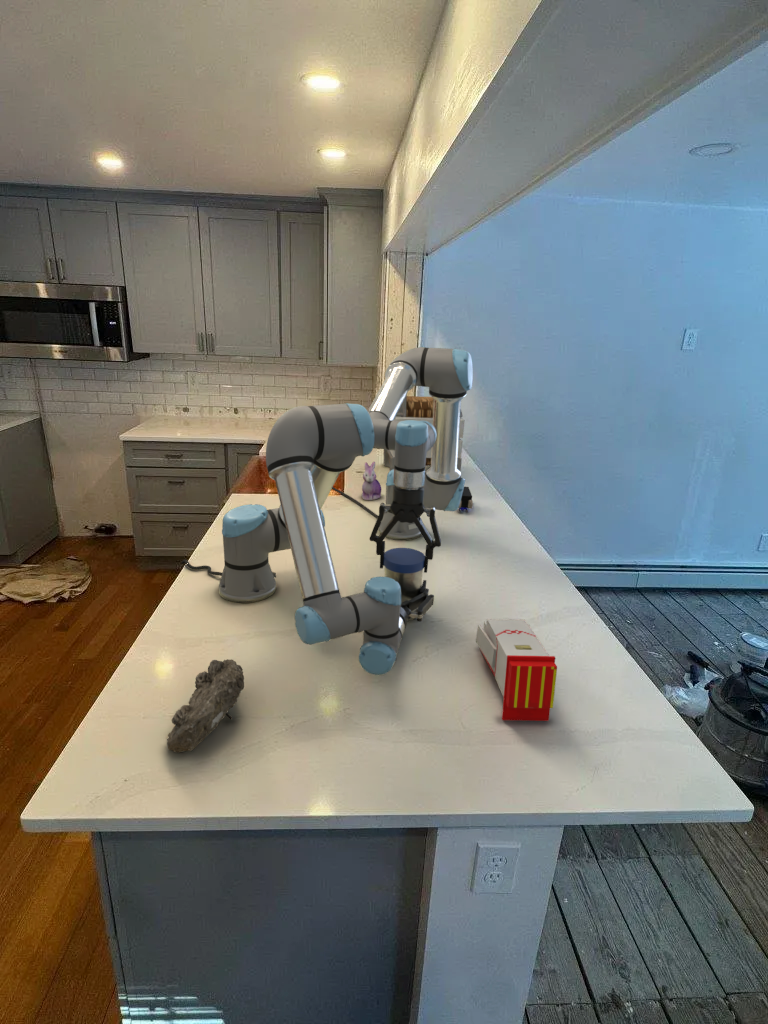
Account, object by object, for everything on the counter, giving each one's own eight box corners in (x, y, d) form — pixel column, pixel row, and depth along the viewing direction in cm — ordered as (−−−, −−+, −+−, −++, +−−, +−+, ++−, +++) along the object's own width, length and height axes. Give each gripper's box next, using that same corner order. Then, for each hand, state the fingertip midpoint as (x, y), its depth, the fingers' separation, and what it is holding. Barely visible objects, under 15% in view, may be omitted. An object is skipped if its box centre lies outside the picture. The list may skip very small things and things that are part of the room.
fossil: (192, 660, 117) (244, 628, 112) (224, 691, 120) (276, 661, 115) (142, 746, 98) (202, 712, 93) (182, 779, 101) (242, 748, 96)
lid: (427, 573, 140) (427, 565, 139) (384, 573, 139) (384, 564, 138) (422, 556, 150) (422, 547, 149) (382, 555, 149) (382, 547, 148)
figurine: (366, 502, 230) (367, 466, 225) (355, 494, 239) (356, 460, 234) (386, 499, 235) (388, 464, 229) (375, 492, 243) (377, 458, 238)
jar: (421, 621, 145) (425, 566, 139) (383, 620, 144) (386, 565, 139) (417, 602, 154) (421, 550, 149) (381, 602, 153) (384, 549, 148)
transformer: (382, 463, 289) (386, 382, 275) (445, 464, 293) (451, 384, 279) (390, 482, 257) (394, 392, 243) (460, 483, 261) (468, 394, 247)
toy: (523, 604, 135) (566, 662, 106) (518, 656, 138) (559, 727, 109) (472, 603, 135) (501, 661, 105) (468, 655, 138) (496, 726, 108)
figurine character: (472, 517, 222) (467, 501, 236) (475, 500, 219) (469, 484, 233) (455, 517, 222) (451, 500, 236) (457, 499, 219) (452, 484, 232)
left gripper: (341, 632, 133) (363, 589, 154) (436, 646, 129) (446, 600, 150) (342, 603, 131) (364, 564, 151) (438, 617, 127) (448, 574, 148)
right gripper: (456, 484, 140) (449, 566, 147) (364, 477, 142) (361, 558, 149) (456, 494, 133) (448, 578, 140) (359, 486, 135) (356, 570, 142)
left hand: (405, 582), depth 151 cm, fingers closed on jar, 10 cm apart
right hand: (403, 568), depth 145 cm, fingers closed on lid, 10 cm apart
